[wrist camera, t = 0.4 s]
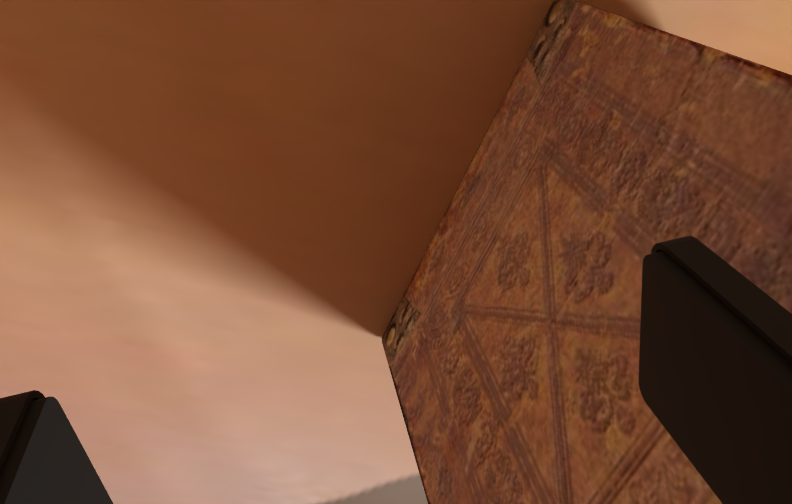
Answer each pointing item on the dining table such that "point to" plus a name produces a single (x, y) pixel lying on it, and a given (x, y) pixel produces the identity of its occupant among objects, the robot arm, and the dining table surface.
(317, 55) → the dining table surface
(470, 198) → the book
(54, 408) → the robot arm
